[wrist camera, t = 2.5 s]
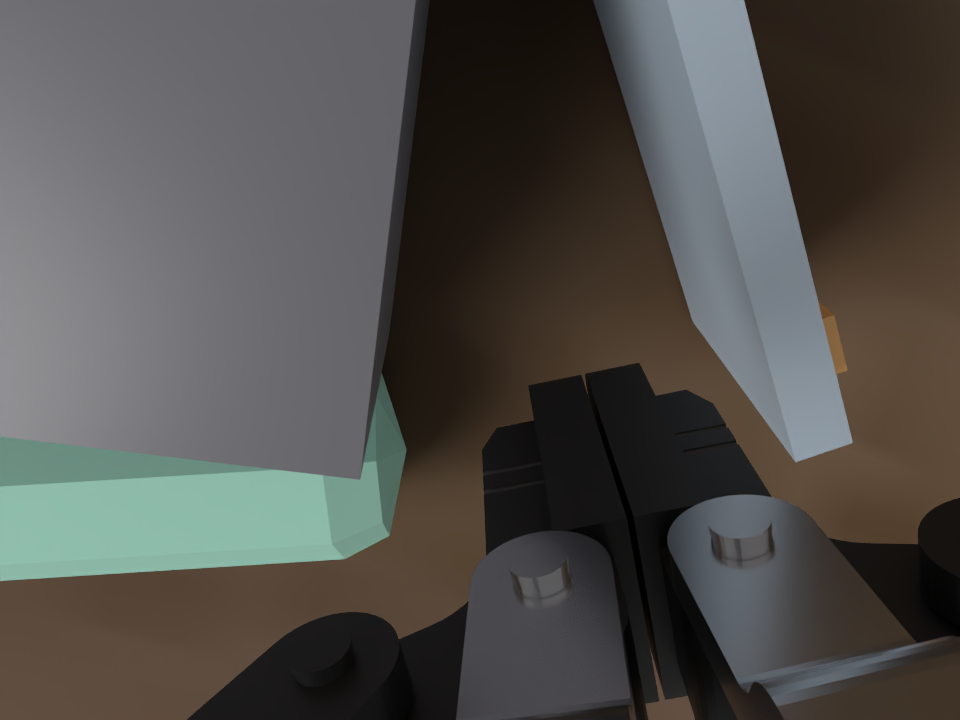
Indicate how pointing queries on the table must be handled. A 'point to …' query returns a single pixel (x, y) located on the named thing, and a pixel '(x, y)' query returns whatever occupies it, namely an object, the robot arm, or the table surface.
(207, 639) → the table surface
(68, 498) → the mint green bar
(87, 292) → the camera case
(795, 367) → the side door
